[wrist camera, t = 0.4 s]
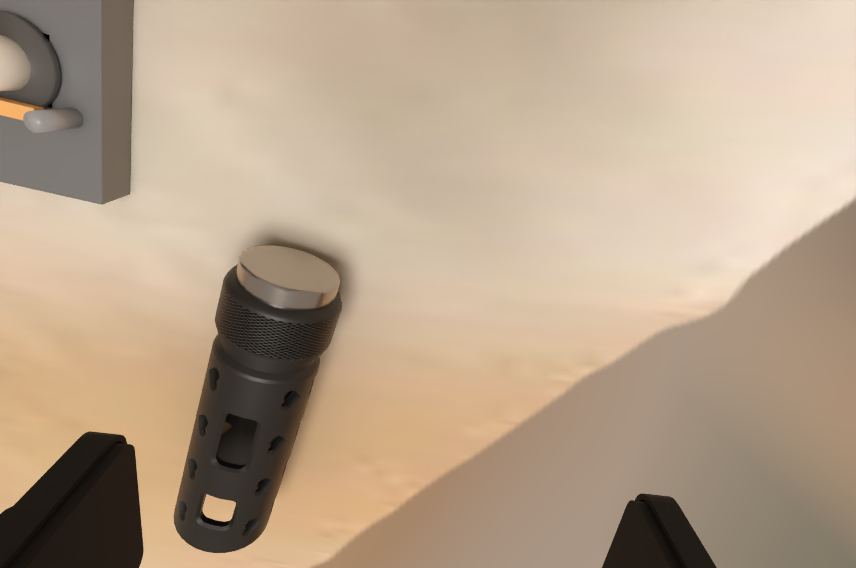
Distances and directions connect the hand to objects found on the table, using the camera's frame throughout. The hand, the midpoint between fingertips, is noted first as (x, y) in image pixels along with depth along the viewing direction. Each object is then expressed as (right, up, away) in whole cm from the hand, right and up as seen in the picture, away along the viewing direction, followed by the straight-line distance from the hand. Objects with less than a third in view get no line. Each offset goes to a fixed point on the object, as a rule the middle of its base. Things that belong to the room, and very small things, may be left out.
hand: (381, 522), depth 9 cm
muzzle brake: (-15, -4, +41) cm, 43 cm away
